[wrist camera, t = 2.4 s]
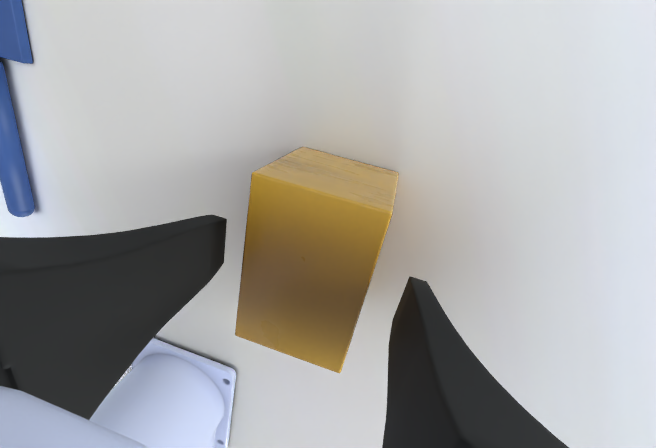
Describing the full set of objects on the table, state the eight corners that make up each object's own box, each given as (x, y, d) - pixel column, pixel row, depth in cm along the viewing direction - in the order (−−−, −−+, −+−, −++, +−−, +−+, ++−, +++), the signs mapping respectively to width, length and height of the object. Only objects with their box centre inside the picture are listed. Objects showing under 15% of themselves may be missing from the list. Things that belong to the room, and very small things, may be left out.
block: (359, 298, 17) (340, 374, 12) (280, 271, 17) (234, 336, 13) (399, 172, 14) (393, 212, 9) (301, 145, 14) (251, 171, 10)
